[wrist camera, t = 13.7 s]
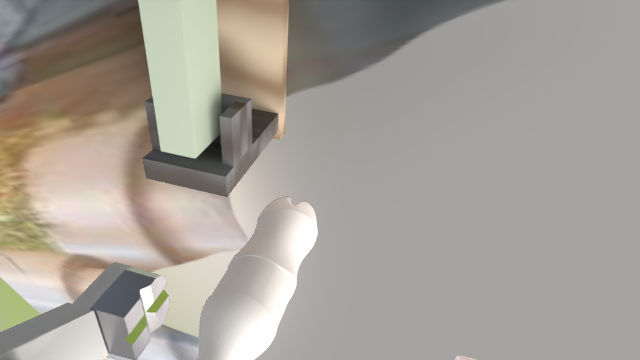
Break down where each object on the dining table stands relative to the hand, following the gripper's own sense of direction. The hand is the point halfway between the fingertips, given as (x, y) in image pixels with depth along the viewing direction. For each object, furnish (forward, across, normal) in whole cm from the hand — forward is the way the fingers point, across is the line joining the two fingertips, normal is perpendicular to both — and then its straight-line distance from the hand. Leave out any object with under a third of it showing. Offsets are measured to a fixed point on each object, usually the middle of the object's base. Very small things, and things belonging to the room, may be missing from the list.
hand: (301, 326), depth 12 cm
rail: (+24, +16, -1) cm, 28 cm away
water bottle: (+33, +10, +24) cm, 42 cm away
